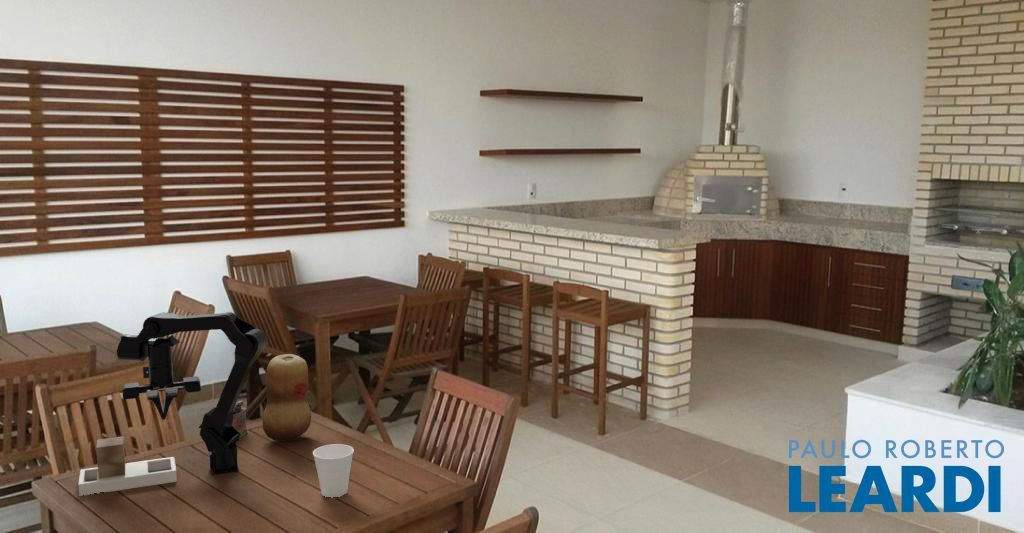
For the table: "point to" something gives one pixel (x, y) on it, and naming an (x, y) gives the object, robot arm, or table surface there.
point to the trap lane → (129, 476)
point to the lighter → (239, 418)
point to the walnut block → (110, 457)
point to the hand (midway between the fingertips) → (163, 419)
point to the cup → (333, 468)
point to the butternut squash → (286, 398)
